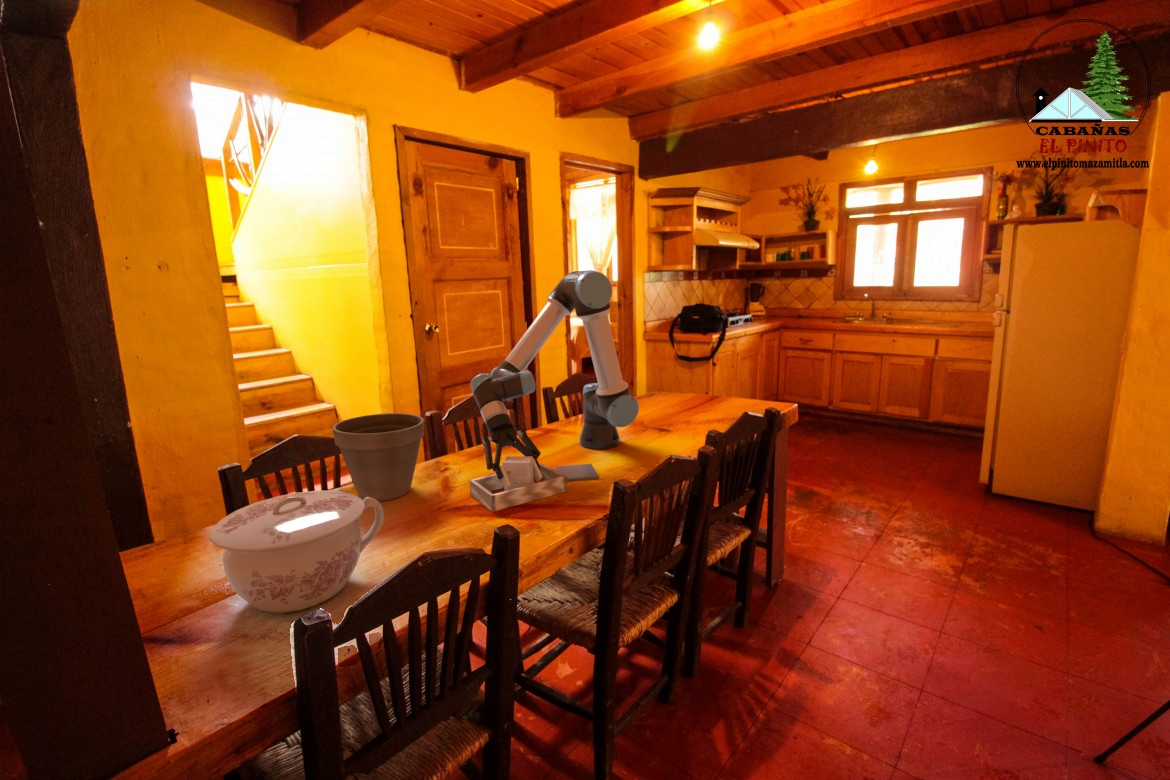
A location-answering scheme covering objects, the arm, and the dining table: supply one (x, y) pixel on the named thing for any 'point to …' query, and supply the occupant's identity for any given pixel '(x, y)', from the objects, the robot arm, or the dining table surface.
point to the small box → (519, 471)
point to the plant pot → (380, 452)
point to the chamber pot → (294, 547)
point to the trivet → (577, 472)
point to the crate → (517, 489)
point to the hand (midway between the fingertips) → (524, 483)
